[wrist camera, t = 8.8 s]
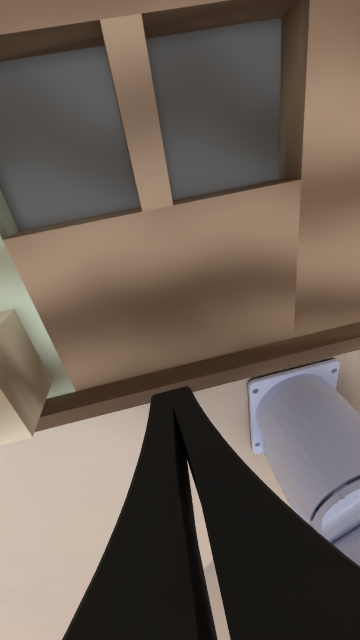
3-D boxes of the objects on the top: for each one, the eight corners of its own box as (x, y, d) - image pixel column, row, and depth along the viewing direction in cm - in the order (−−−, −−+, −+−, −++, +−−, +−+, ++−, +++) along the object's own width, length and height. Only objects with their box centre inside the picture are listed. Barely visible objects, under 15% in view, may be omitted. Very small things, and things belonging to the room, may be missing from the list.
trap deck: (354, 312, 21) (398, 339, 18) (-13, 401, 19) (-43, 451, 16) (413, -32, 12) (525, -113, 9) (-254, 67, 10) (-443, 14, 7)
